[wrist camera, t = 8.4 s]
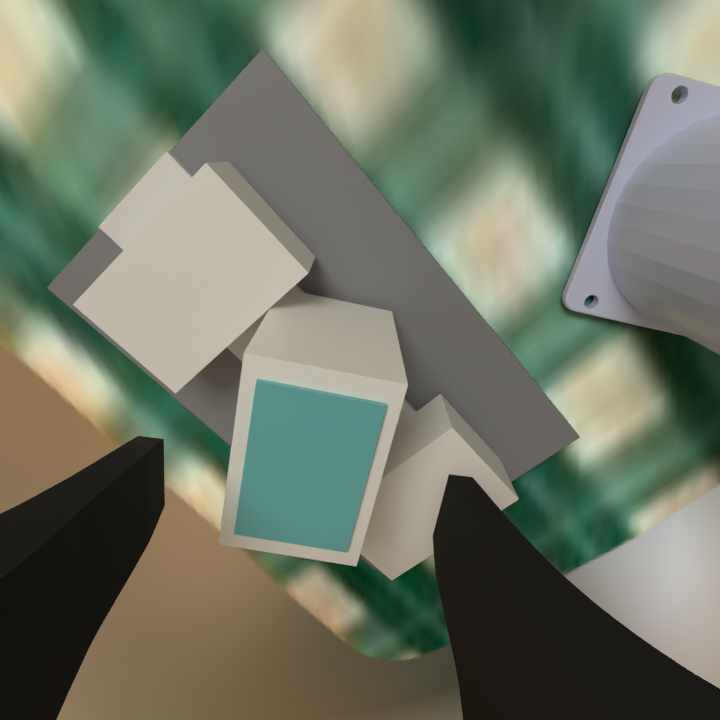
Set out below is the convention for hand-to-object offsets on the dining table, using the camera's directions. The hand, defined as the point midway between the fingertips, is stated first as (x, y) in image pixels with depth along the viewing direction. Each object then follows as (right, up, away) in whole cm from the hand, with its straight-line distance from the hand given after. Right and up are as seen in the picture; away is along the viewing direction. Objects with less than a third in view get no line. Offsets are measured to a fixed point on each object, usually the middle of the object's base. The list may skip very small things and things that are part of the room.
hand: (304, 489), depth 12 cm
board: (0, +3, +7) cm, 8 cm away
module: (0, +3, +6) cm, 7 cm away
